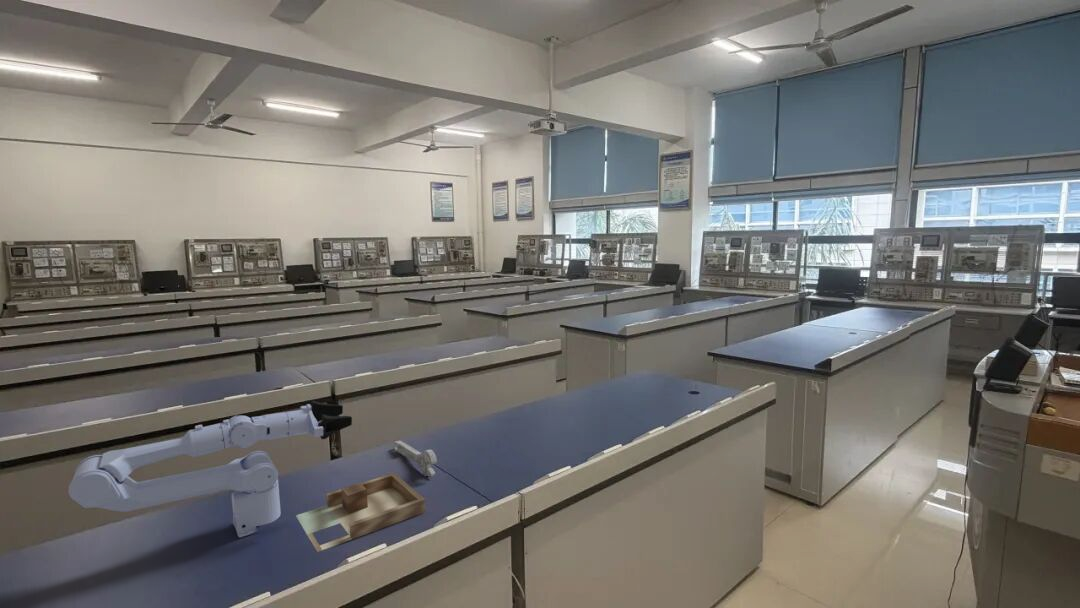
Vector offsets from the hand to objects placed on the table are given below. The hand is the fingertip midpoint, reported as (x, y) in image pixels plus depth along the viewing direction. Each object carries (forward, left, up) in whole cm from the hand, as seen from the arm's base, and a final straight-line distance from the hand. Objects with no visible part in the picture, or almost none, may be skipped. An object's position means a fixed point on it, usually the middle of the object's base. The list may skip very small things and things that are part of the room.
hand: (346, 414), depth 124 cm
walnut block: (-2, -8, -20) cm, 22 cm away
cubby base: (-2, -12, -21) cm, 25 cm away
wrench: (+20, +7, -22) cm, 30 cm away
